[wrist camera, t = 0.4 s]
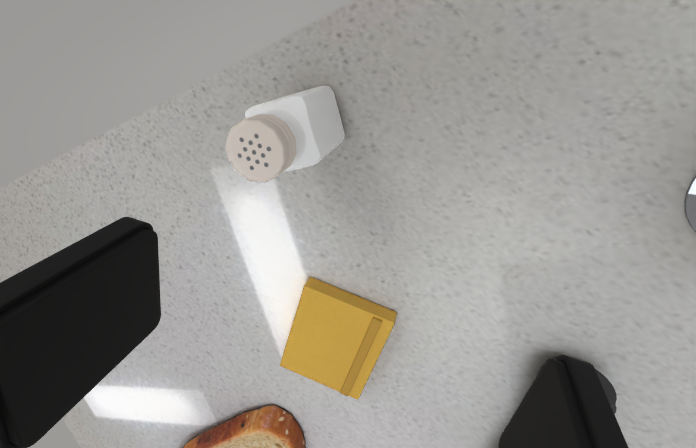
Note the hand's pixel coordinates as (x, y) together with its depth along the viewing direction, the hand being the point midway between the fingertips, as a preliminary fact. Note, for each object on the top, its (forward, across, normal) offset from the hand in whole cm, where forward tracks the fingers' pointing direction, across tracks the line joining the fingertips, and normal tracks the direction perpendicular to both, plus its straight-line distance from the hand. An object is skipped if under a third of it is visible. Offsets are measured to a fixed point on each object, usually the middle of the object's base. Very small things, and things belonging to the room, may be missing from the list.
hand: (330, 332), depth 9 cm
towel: (+20, +2, +19) cm, 27 cm away
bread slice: (+20, +10, +41) cm, 47 cm away
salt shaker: (+20, +7, 0) cm, 21 cm away
